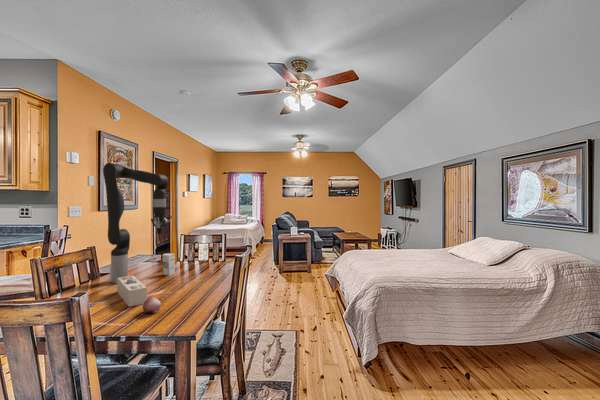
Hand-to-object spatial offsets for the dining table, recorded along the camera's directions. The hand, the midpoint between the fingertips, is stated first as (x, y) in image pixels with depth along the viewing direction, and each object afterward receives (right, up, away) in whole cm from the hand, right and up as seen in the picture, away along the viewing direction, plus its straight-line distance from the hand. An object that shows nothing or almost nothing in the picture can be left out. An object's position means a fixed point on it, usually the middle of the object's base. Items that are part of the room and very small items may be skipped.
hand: (159, 233), depth 187 cm
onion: (+18, -32, -47) cm, 59 cm away
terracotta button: (-10, -26, -18) cm, 33 cm away
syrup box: (-4, -31, +22) cm, 38 cm away
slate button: (-3, -24, -26) cm, 36 cm away
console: (-3, -31, -26) cm, 41 cm away
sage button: (+4, -26, -34) cm, 43 cm away
